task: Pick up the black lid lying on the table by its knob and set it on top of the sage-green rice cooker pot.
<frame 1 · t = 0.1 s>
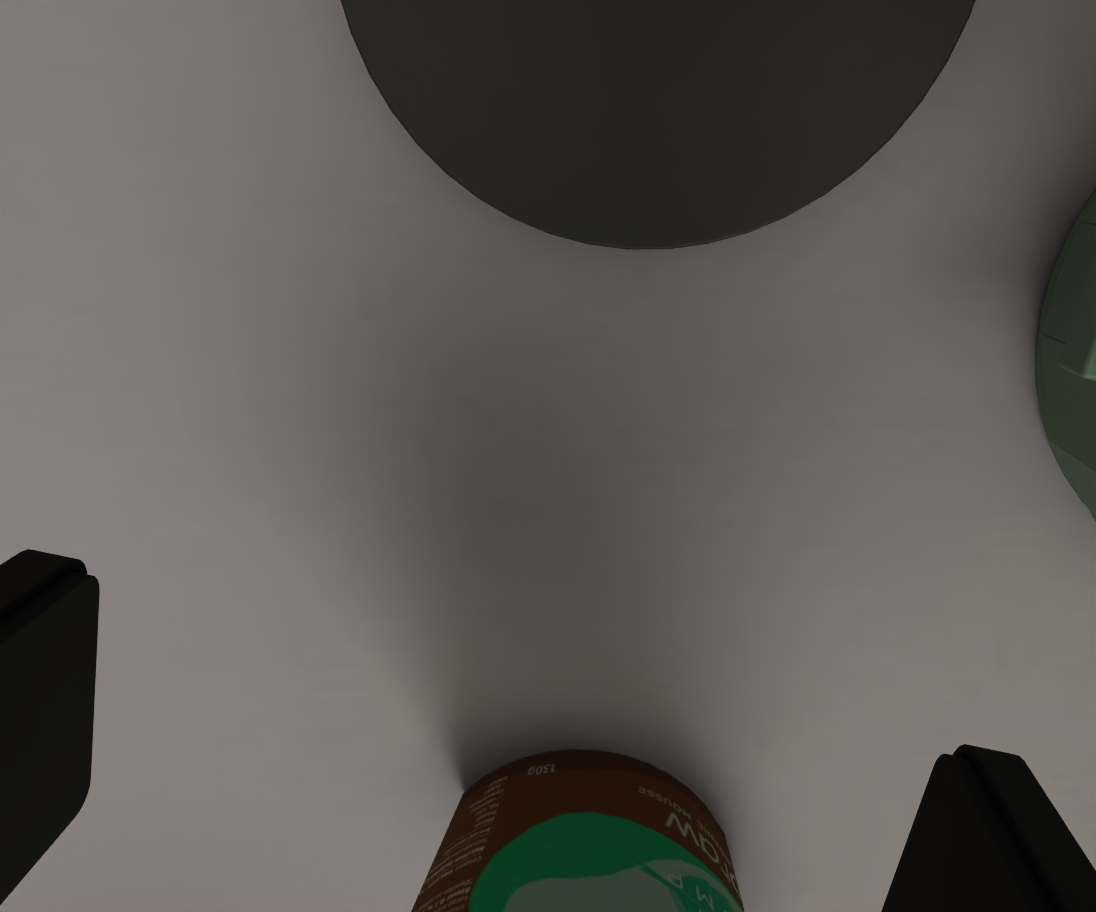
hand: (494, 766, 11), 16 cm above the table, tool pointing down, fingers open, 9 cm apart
food container: (644, 822, 30), on the table
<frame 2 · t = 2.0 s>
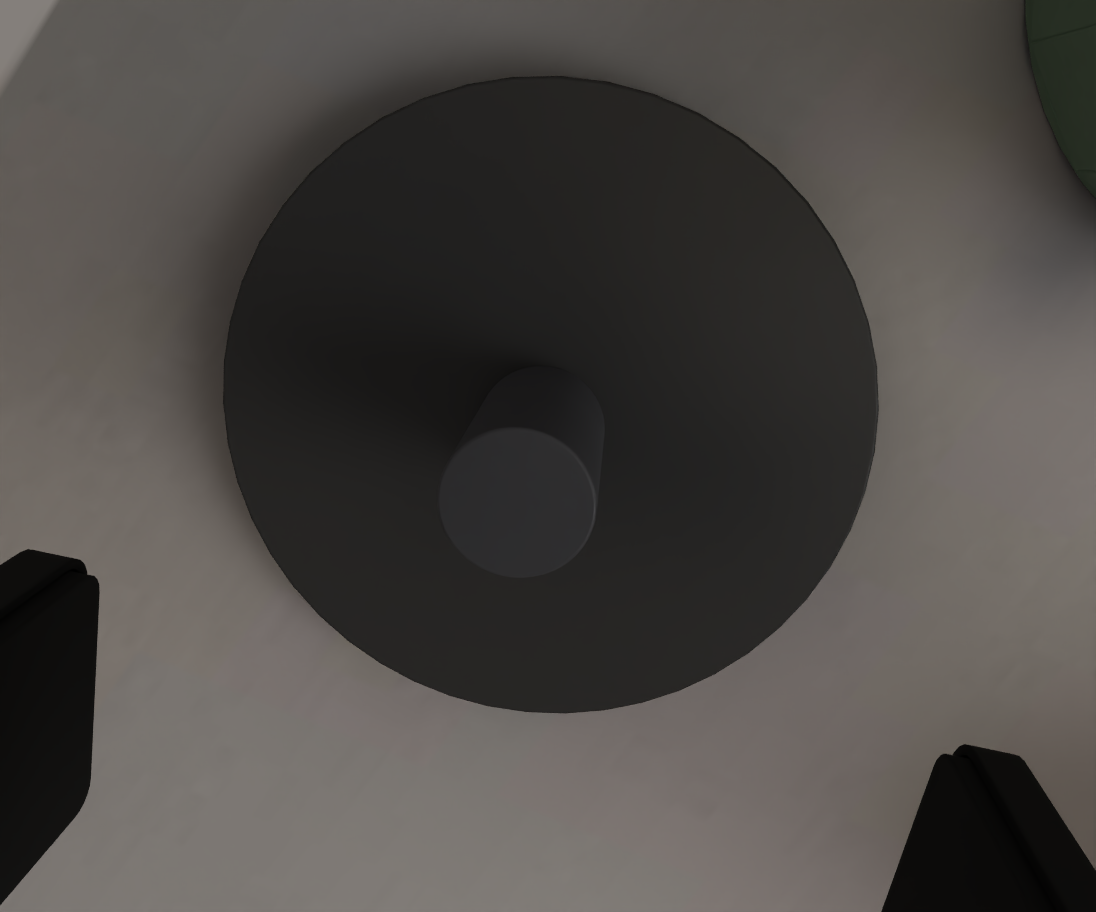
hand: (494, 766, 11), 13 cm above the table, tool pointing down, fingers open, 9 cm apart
lid: (544, 420, 22), point 1 cm above the table
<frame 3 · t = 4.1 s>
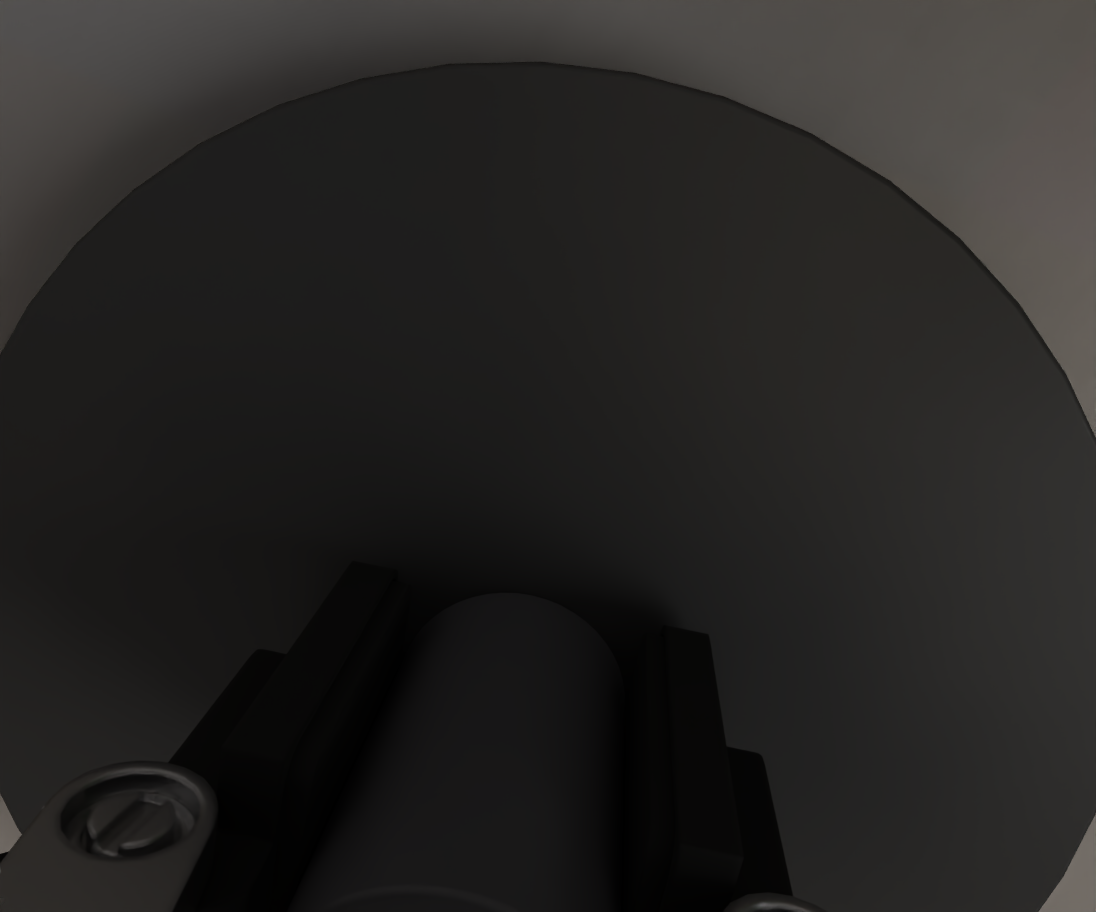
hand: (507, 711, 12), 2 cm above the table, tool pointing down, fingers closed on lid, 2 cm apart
lid: (517, 669, 13), point 1 cm above the table, touching gripper
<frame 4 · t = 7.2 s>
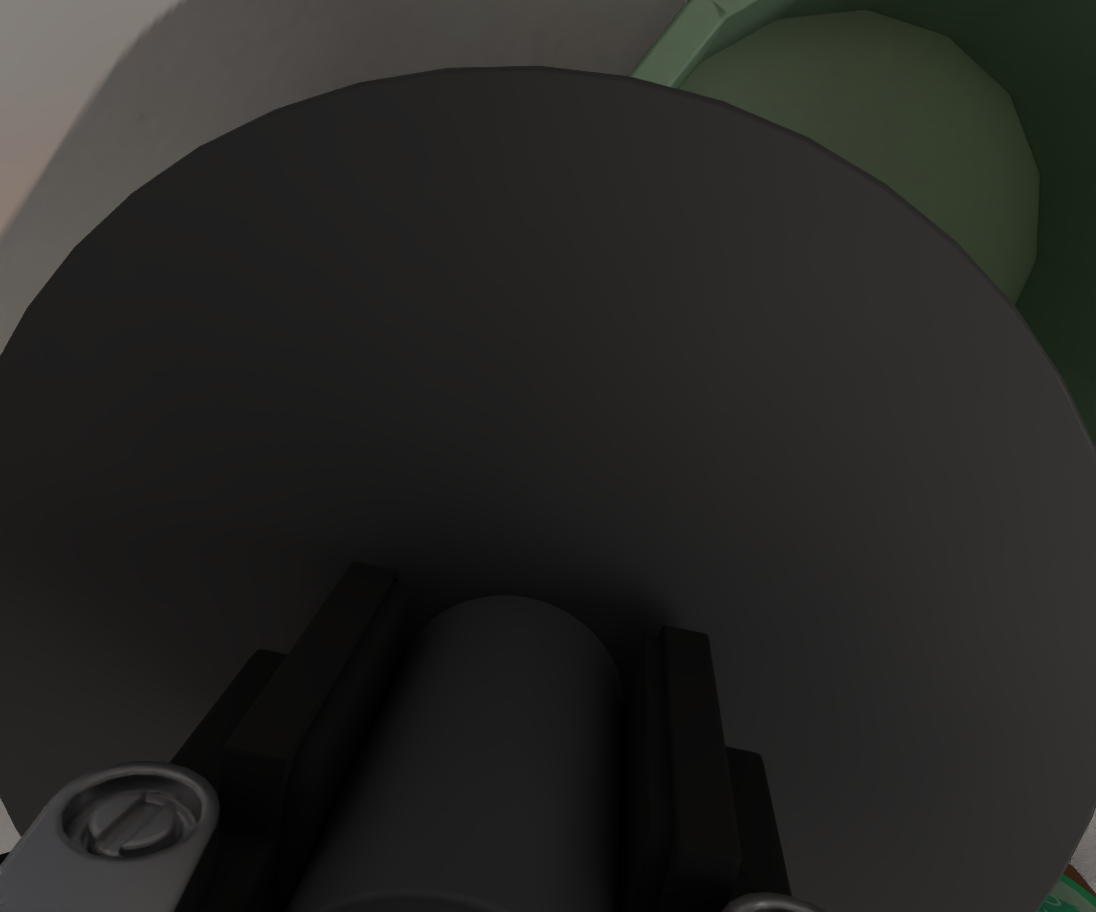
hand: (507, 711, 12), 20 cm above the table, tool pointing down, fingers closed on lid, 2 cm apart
cooker: (820, 234, 29), on the table
lid: (515, 671, 13), point 19 cm above the table, touching gripper
food container: (929, 846, 35), on the table
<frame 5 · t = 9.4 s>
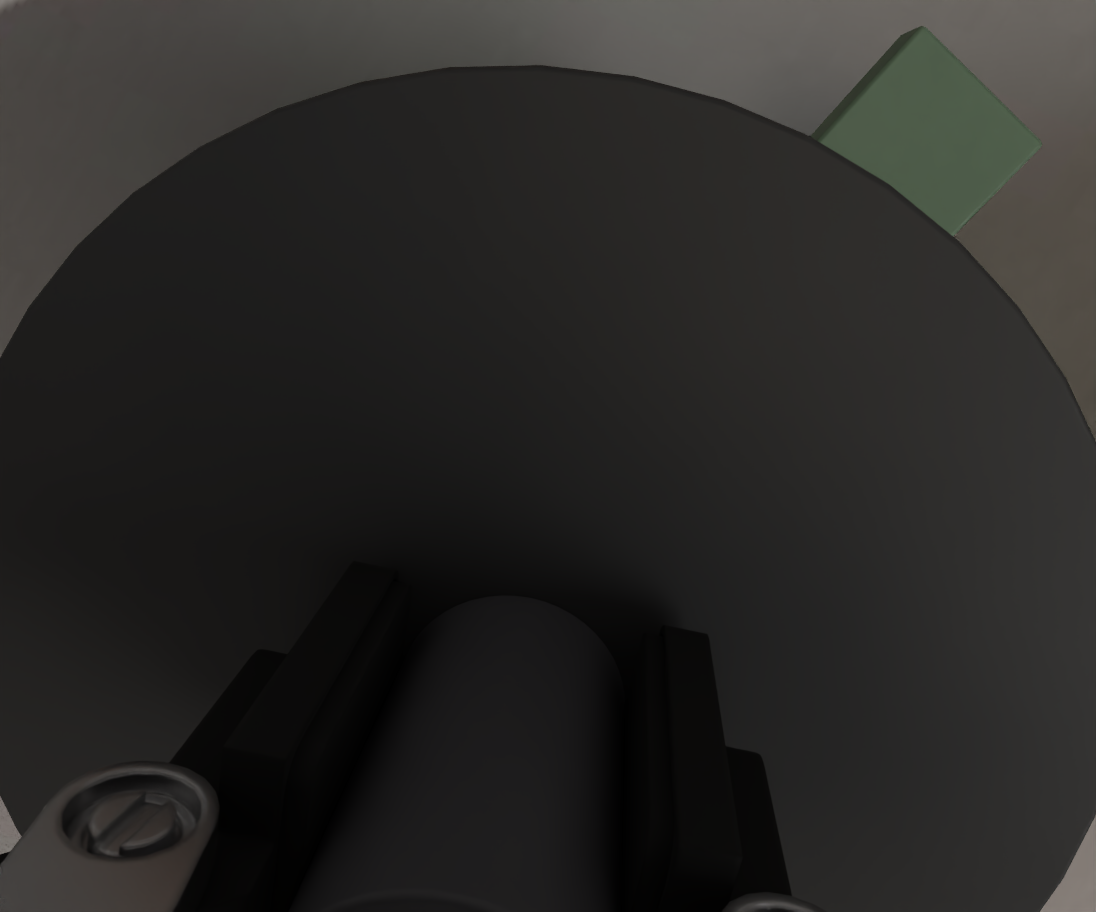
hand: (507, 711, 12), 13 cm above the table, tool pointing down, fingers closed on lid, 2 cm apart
cooker: (569, 419, 24), on the table
lid: (517, 672, 13), point 12 cm above the table, touching gripper
when the fingers open (10 cm above the table, at t = 10.5 s): lid stays where it is, resting on cooker.
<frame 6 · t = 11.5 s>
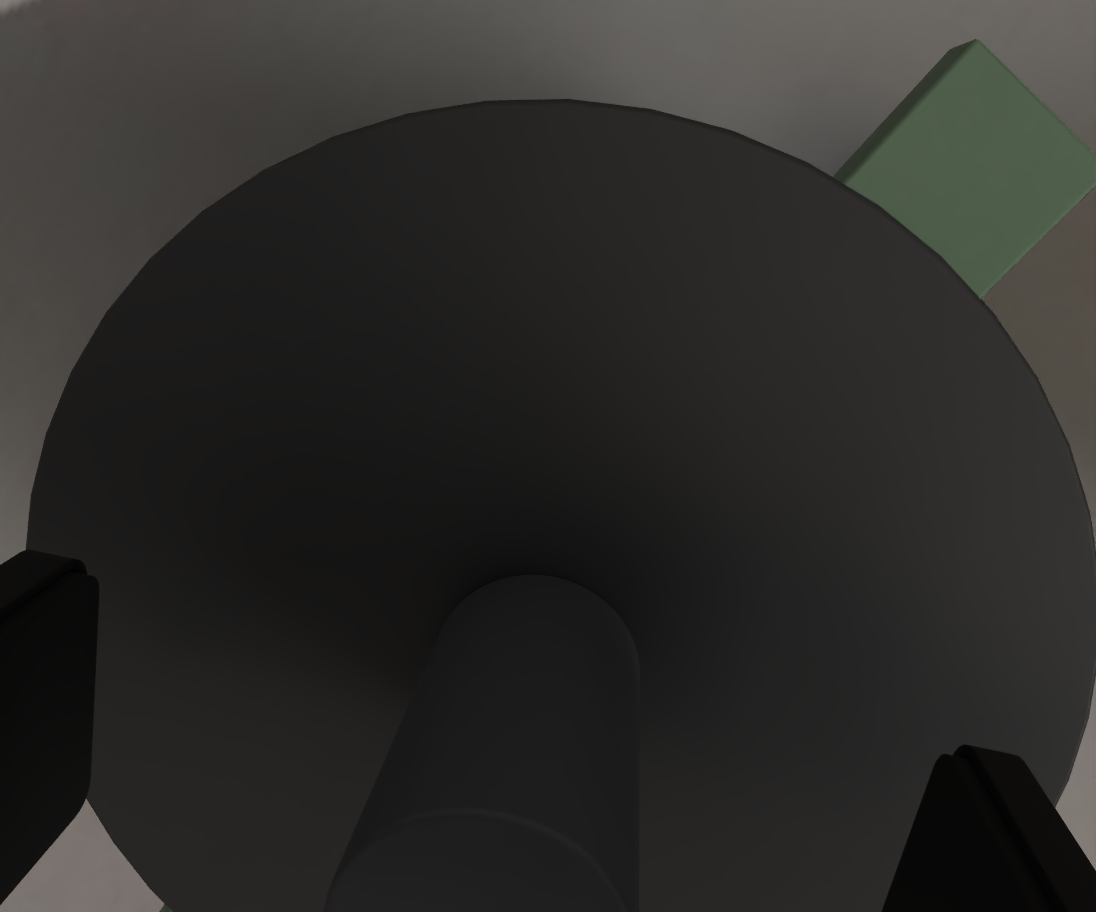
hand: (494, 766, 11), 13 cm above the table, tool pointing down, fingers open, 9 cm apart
cooker: (579, 454, 23), on the table
lid: (541, 646, 14), point 9 cm above the table, touching cooker
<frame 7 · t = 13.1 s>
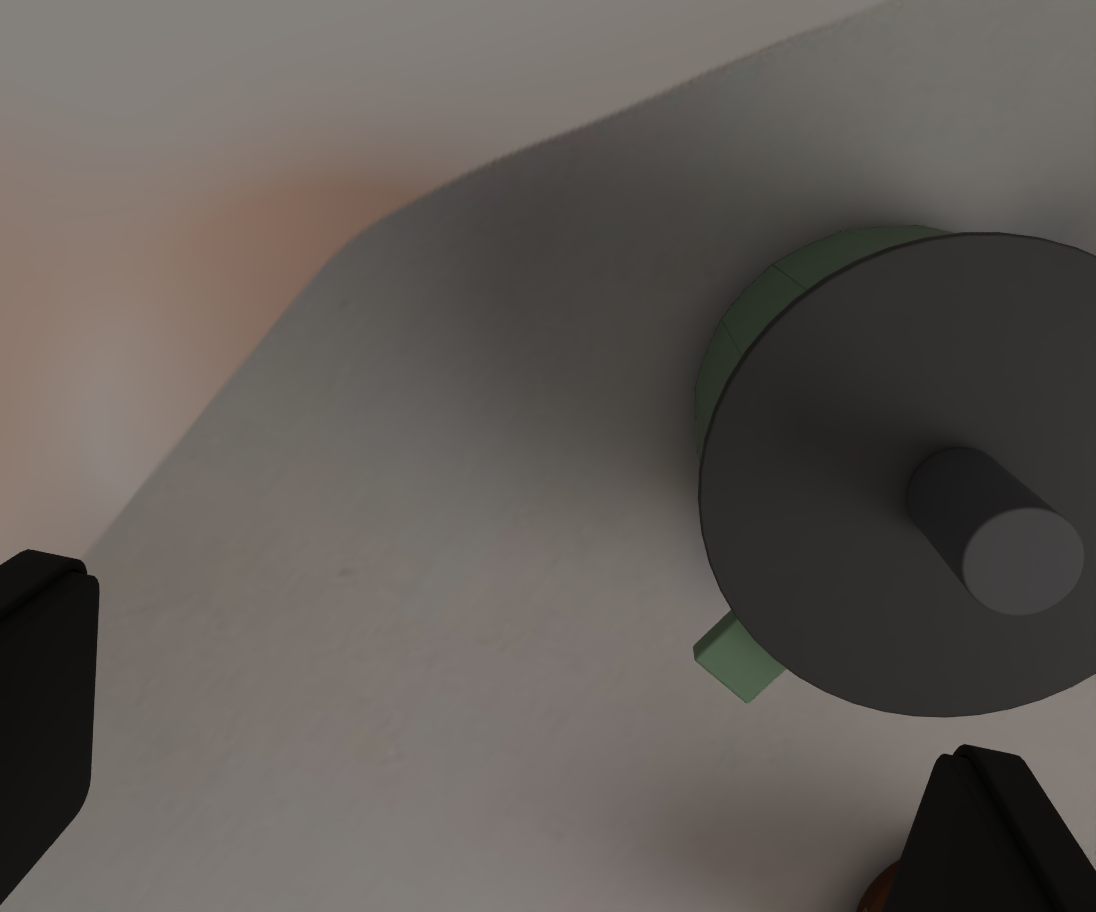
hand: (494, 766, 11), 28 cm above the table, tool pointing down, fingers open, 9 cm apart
cooker: (873, 407, 37), on the table
lid: (949, 487, 28), point 9 cm above the table, touching cooker
food container: (944, 877, 43), on the table
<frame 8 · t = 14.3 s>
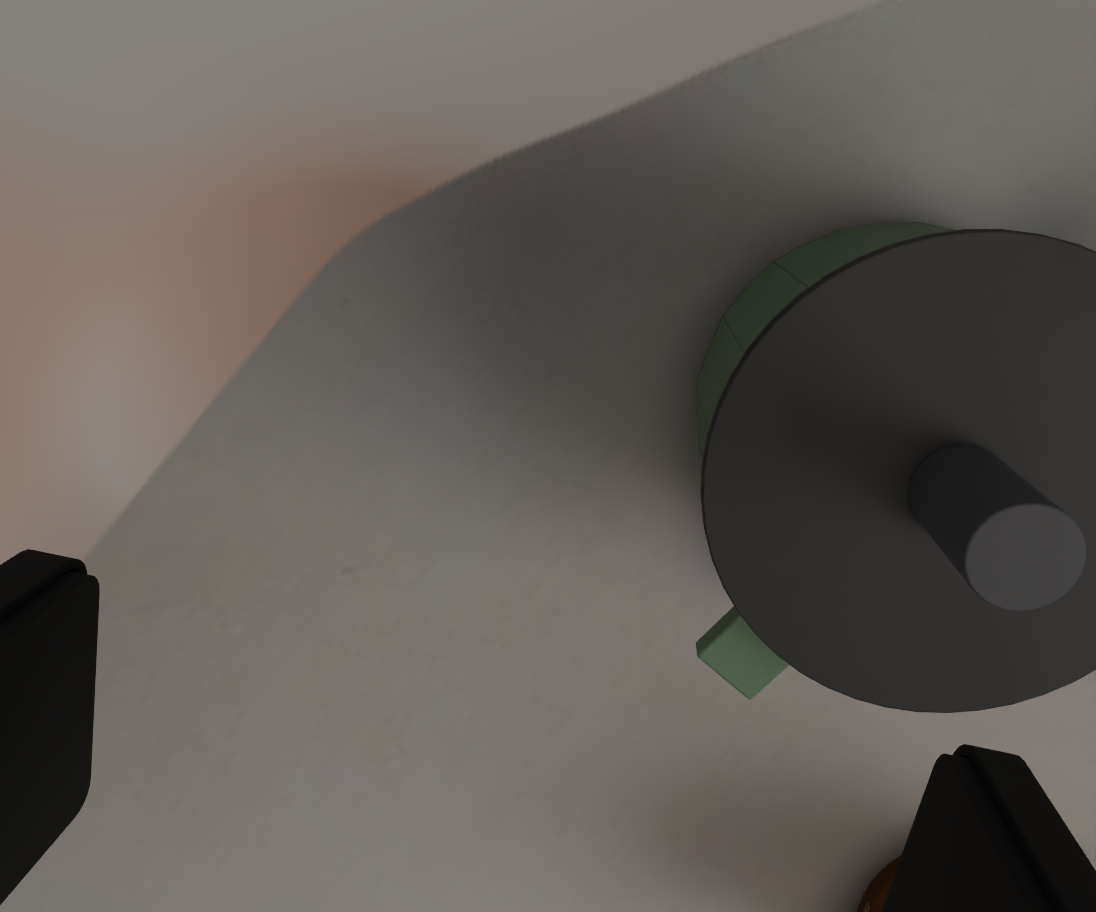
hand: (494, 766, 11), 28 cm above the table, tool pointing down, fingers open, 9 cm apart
cooker: (874, 403, 37), on the table
lid: (951, 483, 28), point 9 cm above the table, touching cooker
food container: (946, 872, 44), on the table
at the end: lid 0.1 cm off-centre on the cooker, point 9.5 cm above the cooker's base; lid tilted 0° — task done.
